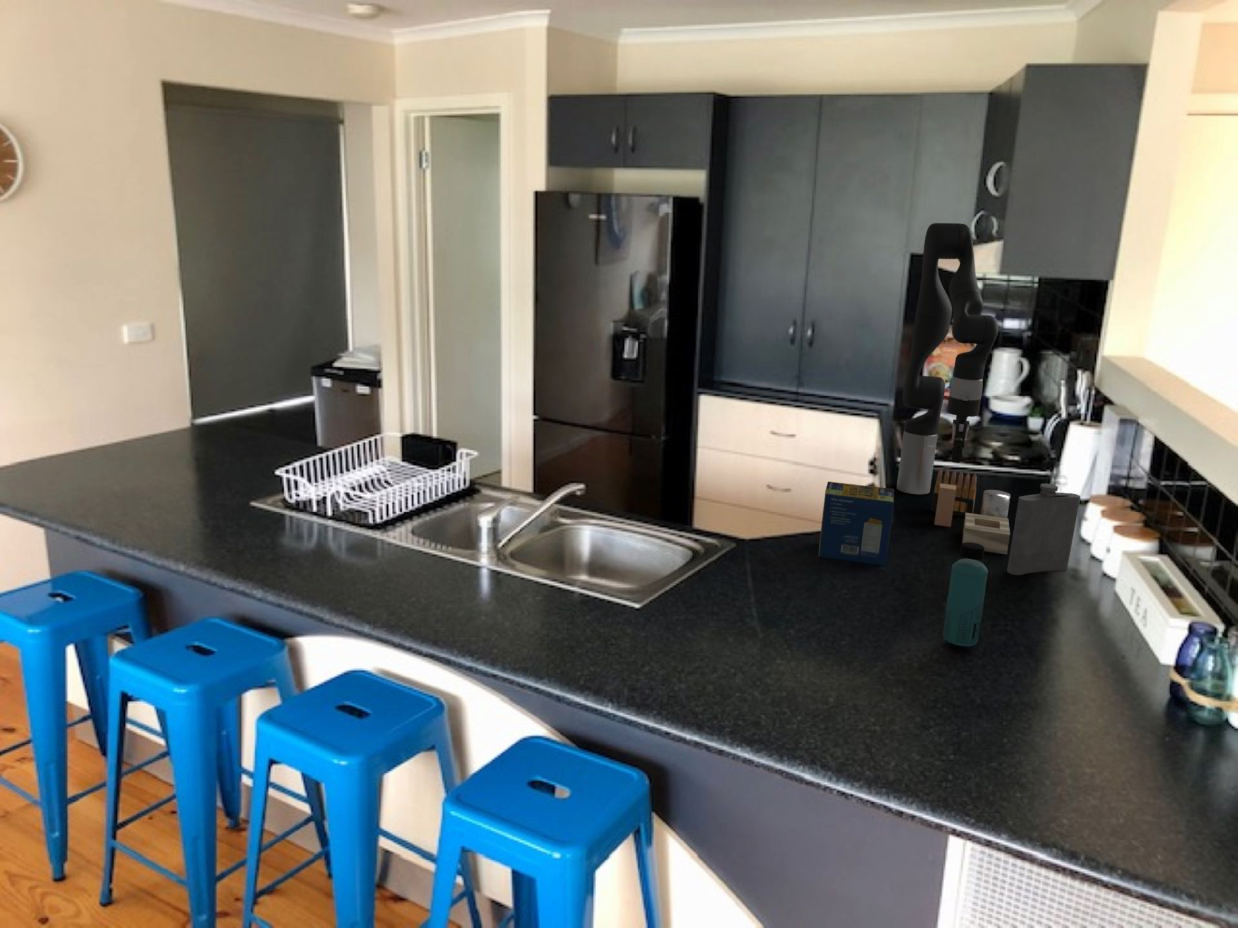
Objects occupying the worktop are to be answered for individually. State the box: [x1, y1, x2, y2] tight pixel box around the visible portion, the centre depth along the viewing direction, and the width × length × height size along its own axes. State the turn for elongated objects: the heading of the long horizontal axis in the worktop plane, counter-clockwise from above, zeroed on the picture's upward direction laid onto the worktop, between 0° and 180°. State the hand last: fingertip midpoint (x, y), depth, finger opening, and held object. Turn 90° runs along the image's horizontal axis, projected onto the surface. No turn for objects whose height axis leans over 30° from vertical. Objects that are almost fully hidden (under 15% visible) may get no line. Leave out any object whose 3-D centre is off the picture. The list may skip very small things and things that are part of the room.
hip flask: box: [1006, 483, 1081, 576], centre depth 214 cm, size 16×4×20 cm, turn 109°
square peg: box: [934, 483, 957, 528], centre depth 245 cm, size 4×4×10 cm
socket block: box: [962, 513, 1011, 555], centre depth 233 cm, size 13×10×5 cm
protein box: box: [818, 481, 895, 567], centre depth 220 cm, size 10×15×16 cm
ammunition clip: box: [930, 467, 977, 518], centre depth 253 cm, size 11×2×12 cm, turn 61°
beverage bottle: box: [942, 542, 989, 647], centre depth 174 cm, size 6×7×20 cm
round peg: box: [979, 489, 1011, 519], centre depth 244 cm, size 6×6×9 cm
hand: (955, 457), depth 241 cm, fingers open, 8 cm apart
